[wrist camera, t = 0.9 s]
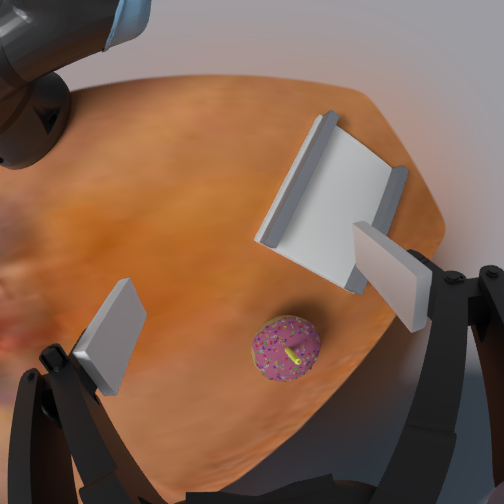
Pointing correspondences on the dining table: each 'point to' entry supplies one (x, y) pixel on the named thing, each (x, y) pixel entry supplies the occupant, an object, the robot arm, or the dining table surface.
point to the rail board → (331, 203)
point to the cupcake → (285, 347)
